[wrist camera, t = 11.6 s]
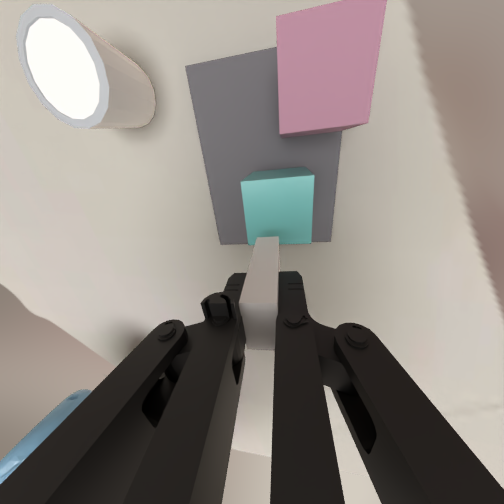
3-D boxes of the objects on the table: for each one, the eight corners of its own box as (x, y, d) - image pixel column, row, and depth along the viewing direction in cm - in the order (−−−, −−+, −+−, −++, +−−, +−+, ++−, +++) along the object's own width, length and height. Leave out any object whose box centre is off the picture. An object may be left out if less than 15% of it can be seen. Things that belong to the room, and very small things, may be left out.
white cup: (148, 148, 22) (96, 148, 16) (92, 104, 21) (12, 87, 15) (172, 85, 19) (119, 56, 13) (107, 29, 18) (14, -33, 12)
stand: (222, 241, 26) (198, 278, 19) (189, 70, 18) (123, 15, 11) (329, 238, 24) (349, 279, 17) (348, 37, 16) (406, -63, 8)
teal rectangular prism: (257, 219, 22) (248, 245, 16) (253, 171, 20) (240, 181, 14) (303, 217, 21) (311, 243, 15) (305, 166, 19) (314, 175, 13)
